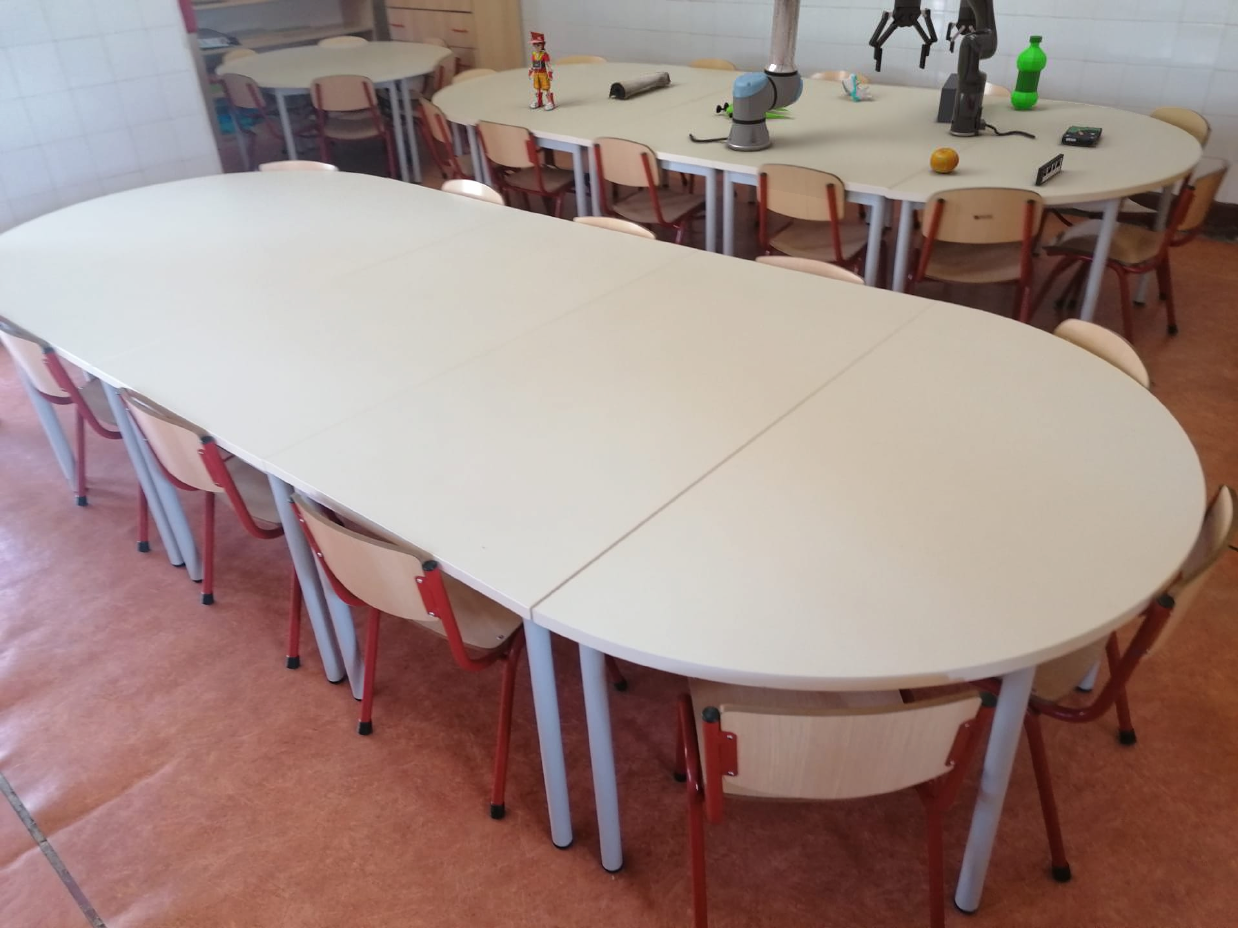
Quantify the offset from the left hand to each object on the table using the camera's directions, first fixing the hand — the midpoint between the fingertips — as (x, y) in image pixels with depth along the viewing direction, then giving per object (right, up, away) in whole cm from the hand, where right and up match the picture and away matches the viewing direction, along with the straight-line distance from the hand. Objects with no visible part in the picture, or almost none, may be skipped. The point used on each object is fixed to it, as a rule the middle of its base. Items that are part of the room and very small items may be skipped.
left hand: (899, 70), depth 273 cm
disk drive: (+71, -10, +31) cm, 79 cm away
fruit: (+17, -27, +12) cm, 34 cm away
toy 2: (-31, +18, +81) cm, 88 cm away
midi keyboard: (+46, -33, +2) cm, 56 cm away
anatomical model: (+12, +31, +96) cm, 101 cm away
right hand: (+44, +34, +63) cm, 84 cm away
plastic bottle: (+68, +15, +69) cm, 98 cm away
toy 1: (-118, +32, +110) cm, 165 cm away
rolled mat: (-76, +45, +124) cm, 152 cm away
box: (+40, +13, +67) cm, 80 cm away
